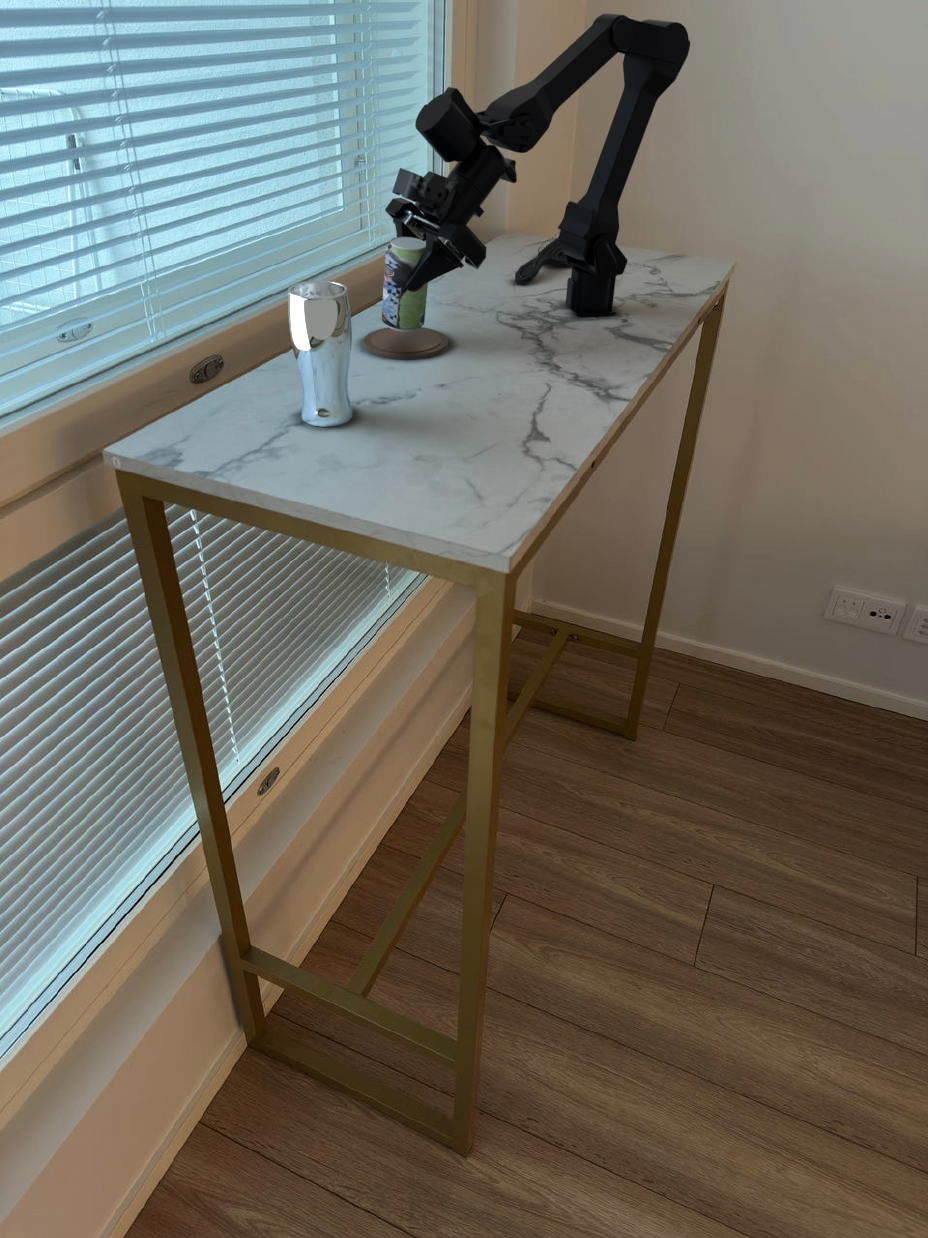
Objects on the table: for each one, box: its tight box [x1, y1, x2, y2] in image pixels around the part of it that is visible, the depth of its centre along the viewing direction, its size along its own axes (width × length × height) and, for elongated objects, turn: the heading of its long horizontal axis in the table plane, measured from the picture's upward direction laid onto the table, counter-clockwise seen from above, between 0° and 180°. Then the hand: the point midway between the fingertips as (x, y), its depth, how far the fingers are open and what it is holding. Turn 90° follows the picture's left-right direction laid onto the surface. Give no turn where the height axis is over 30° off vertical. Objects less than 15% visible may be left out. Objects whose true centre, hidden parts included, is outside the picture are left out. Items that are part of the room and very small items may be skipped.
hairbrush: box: [514, 233, 573, 286], centre depth 161 cm, size 8×4×25 cm
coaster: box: [363, 326, 449, 361], centre depth 129 cm, size 12×12×1 cm
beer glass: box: [287, 280, 354, 428], centre depth 104 cm, size 7×7×15 cm
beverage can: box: [381, 236, 429, 332], centre depth 125 cm, size 6×7×12 cm
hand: (397, 283), depth 123 cm, fingers closed on beverage can, 5 cm apart
